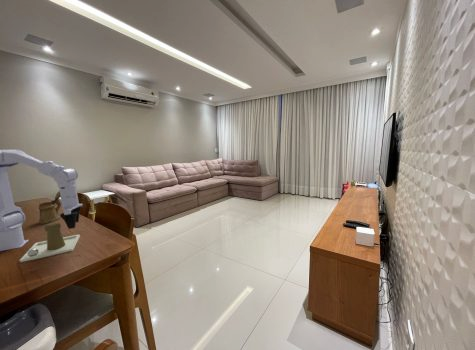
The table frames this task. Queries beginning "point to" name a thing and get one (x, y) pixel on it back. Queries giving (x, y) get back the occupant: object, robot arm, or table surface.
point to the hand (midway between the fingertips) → (73, 225)
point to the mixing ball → (32, 252)
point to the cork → (54, 236)
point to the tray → (43, 251)
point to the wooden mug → (49, 210)
